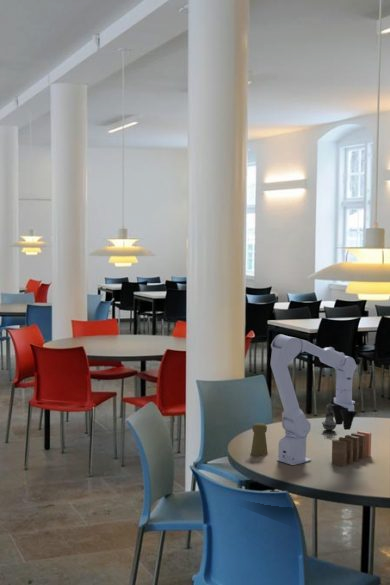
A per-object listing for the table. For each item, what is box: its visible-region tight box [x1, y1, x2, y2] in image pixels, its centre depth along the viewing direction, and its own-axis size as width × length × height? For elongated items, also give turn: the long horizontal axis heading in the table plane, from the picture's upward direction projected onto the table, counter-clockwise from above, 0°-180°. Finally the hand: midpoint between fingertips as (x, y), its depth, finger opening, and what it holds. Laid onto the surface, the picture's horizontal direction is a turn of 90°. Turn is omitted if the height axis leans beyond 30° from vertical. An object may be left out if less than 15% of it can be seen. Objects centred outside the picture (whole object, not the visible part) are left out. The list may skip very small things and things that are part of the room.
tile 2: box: [338, 436, 354, 465], centre depth 284 cm, size 2×5×8 cm, turn 49°
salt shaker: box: [321, 402, 338, 435], centre depth 327 cm, size 6×6×12 cm
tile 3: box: [344, 434, 360, 463], centre depth 287 cm, size 2×5×8 cm, turn 49°
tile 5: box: [356, 430, 372, 458], centre depth 294 cm, size 2×5×8 cm, turn 49°
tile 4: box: [350, 432, 366, 460], centre depth 290 cm, size 2×5×8 cm, turn 49°
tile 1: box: [331, 439, 347, 468], centre depth 281 cm, size 2×5×8 cm, turn 49°
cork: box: [250, 422, 269, 457], centre depth 294 cm, size 6×6×11 cm
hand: (343, 426), depth 294 cm, fingers open, 7 cm apart
